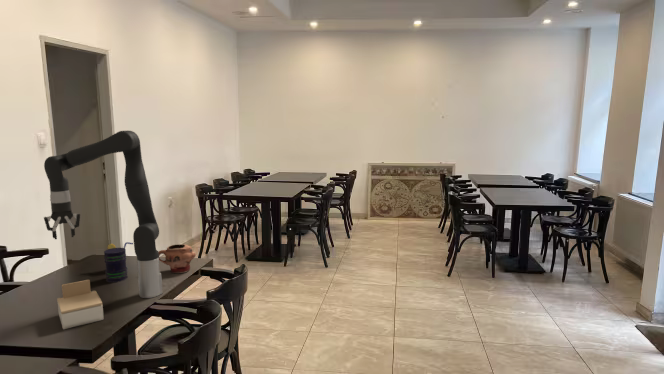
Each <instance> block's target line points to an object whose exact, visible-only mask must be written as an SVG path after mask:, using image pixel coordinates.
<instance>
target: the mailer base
mask: <svg viewBox="0 0 664 374" xmlns="http://www.w3.org/2000/svg"><path fill="white" fill-rule="evenodd" d="M103 307H104V306H103V305H99V306H94V307H90V308H85V309H81V310H76V311H72V312H68V313H63V314H61V310H60V307H59V304H58V303H57V309H58V310H57V311H58V312H57V313H58V318H59V321H60V324H61V327H62V330H66V329H71V328H74V327H75V328H76V327H78V326H83V325H87V324H91V323H96V322H100V321H103V320H105V318H104V308H103Z"/></svg>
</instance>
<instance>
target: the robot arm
mask: <svg viewBox="0 0 664 374" xmlns="http://www.w3.org/2000/svg"><path fill="white" fill-rule="evenodd" d="M141 149H142V148H141V141H140V138H139V135H138V134H137V133H136V132H135V131H133V130H119V131H117V132H116V133H114V134H111V135H110V136H108V137H106V138H105V139H102V140H100V141H97V142H95V143H90V144H87V145H84V146H81V147H77V148H74V149H71V150H70V151H68V152H66V153H63V154H59V155H51V156H48V157H47V158H46V159H45V160H44V164H43V166H44V171H45V174H46V177H47V179H48V182H49V191H50V194H49V195H50V196H49V197H50V199H49V201H50V211H51V215H48V216H43V220H44V224H45V227H46V229H47V231H50V232H51V234H52V238H53V239H54V240H57V239H58V235H57V228H58V226H59V225H61V224H67V225H69V226H70V236H71V238H74V236H75V235H76V228H79V226H80V221H81V220H80V219H81V214H80V213H79V212H77V213H73V212H72V202H71V199H72V198H71V192H70V185H69V180H68V178H67V177H65V176H64V174H63V172H65V171H67V170H71V169H73V168H75V167H78V166H81V165H84V164H86V163H90V162H92V161H95V160H97V159H99V158H102V157H103V156H107V155H110V154H115V153H116V154H117V153H123V157H124V162H125V163H124V164H125V171H124V186H125V187H124V188H125V191H126V196H127V198H128V201H129V203H130V204H131V206H132V207H133V209H134V211H135V213H136V216H137V221H138V227H136V228H135V230H134V232H133V236H132V238H133V247H134V254H135V255H136V263H137V265H136V266H137V278H138V279H137V280H138V293H139V294H138V295H139V297H140V298H144V299H151V298H155V297H158V296H159V295H162V294H163V281H162V273H161V269H160V268H161V267H160V260H159V258H160V256H159V251H158V250H157V248H156V247H157V245H156V240H157V239H158V238H159V235H160V228H159V225H158V222H157V219H156V217H155V213H154V209H153V205H152V203H153V202H152V199H151V194H150V193H151V192H150V188H149V183H148V179H147V176H146V171H145V167H144V162H143V159H142V158H143V157H142V150H141ZM73 217H74V219H75V224H73V223H72V221H71V220H72V218H73ZM51 220H53V221H54V222H53V224H52V225H53V226H52V227H51V225H50V222H51Z"/></svg>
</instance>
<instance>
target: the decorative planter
mask: <svg viewBox="0 0 664 374" xmlns="http://www.w3.org/2000/svg"><path fill="white" fill-rule="evenodd" d="M158 252H159V262H161V263H163V264H165V265H166V266H169V267H170V272H171V273H172V274H183V273H188V272H189V271H190V269H191V262H192V261H193V260H194V259H195V258H196V255H197V254H196V252H195V251H193V247H192V246H191V245H188V244H180V243H179V244H171V245H169V246H167V247H166V249H161V250H159V251H158ZM161 254H162V255H164V256H165V260H162V259H161V258H160V256H161Z"/></svg>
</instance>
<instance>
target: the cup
mask: <svg viewBox="0 0 664 374" xmlns="http://www.w3.org/2000/svg"><path fill="white" fill-rule="evenodd" d="M127 245H134V242H128V241H126V242H125V243H124V246H123V248H125V252H126V247H127ZM112 248H117V247H116V245H115V244H114V243H110V244H108V245H107V249H106V250H108V249H112Z"/></svg>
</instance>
